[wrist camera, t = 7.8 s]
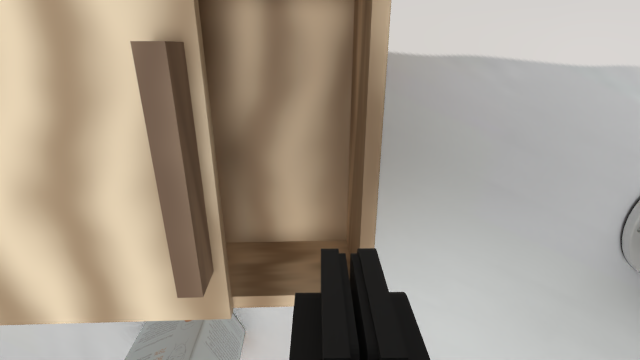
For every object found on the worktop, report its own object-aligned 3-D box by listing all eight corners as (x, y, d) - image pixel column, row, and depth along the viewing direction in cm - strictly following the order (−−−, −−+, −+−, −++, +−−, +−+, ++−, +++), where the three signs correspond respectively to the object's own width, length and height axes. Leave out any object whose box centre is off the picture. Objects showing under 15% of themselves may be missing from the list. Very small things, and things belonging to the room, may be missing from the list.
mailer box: (367, -16, 25) (393, -43, 18) (355, 245, 33) (370, 304, 25) (143, -18, 24) (71, -46, 17) (186, 249, 32) (150, 309, 25)
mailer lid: (192, -47, 17) (167, -67, 14) (233, 310, 25) (222, 348, 22) (-150, -50, 16) (-257, -73, 13) (4, 316, 24) (-40, 355, 21)
